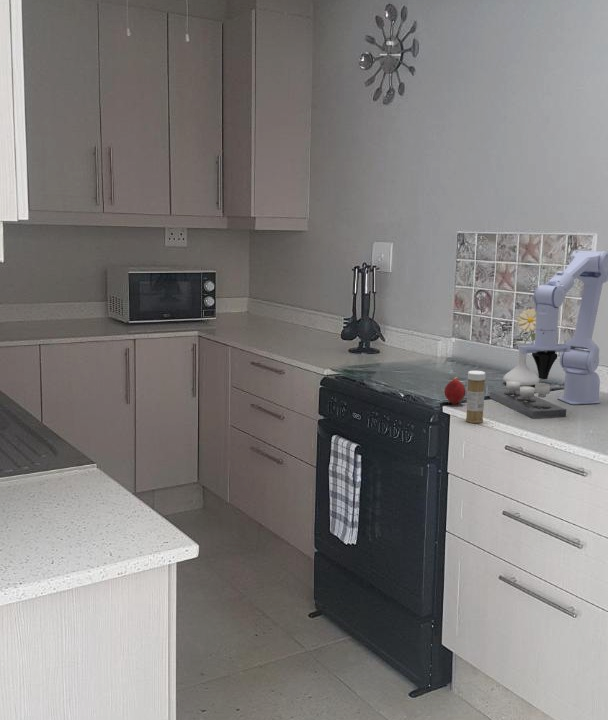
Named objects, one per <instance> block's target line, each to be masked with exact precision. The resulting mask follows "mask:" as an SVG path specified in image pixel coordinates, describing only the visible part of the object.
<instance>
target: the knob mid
mask: <svg viewBox="0 0 608 720" xmlns="http://www.w3.org/2000/svg"><path fill="white" fill-rule="evenodd" d="M520 396H523V400H530V397H533V396H535V386H534V387H533V386H520Z"/></svg>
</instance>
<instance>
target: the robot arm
mask: <svg viewBox="0 0 608 720" xmlns="http://www.w3.org/2000/svg"><path fill="white" fill-rule="evenodd" d="M575 279H577V280H579V281H581V282H582V283H583V285H584V286H583V289H582V294H581V299H580V304H579V308H578V309H579V310H578V315H577V319H576V324H575V329H574V334H573V337H572V338H570V339H568V340H567V341H565V342H564V343H557V342H558V340H557V339H558V338H557V337H558V326H559V325H558V323H559V310H560V307H561V306H562V305H563V303H564V299H565V298H566V294H567V293H568V292H569V291H570V290H571V289H572V288H573V287H574V284H575ZM606 282H608V251H607V250H604V251H599V250H598V251H597V250H596V251H595V250H581V249H580V250H579V249H575V250H574V251H573V253H572V254H571V256H570V262H569V264H568V265H567V266H566V268H565V269H564V270H557V271H556V273H555V274H554V275H553V276H552V277H551V278H550V279H548V281H547V282H545V284H540V285H539V286H536V288H535V289H534V293H533V295H532V300H533V301H532V302H533V303H534V309H535V312H536V328H535V330H534V331H535V332H534V333H535V340H534V343H533V344H532V343H531V345H525V346H520V350H519V349H518V354H519V353H522V354H526V353H527V354H531V356H532V358H533V360H534V362H535V365H536V368H537V374H538V378H539V380H548V377H549V374H550V371H551V368H552V367H553V365H554V363H555V362H556V360H557V359H558V355H559V364H560V367H561V368H563V369H562V371H564V372H565V373H564V386H563V387H564V388H563V396H557V399H558V400H560V401H561V402H565V403H567V404H570V405H573V406H574V405H589V404H600V403H601V401H600V400H599V399H600V387H601V378H600V375H599V374H598V373H597V372H596V370H597V369H598V367H599V363H600V347H599V346H598V345H597V344H596V343H595V342H594V341H593V333H594V329H595V325H596V324H595V323H596V321H597V315H598V310H599V305H600V299H601V294H602V290H603V289H602V288H603V285H604V283H606ZM558 353H560V354H558Z"/></svg>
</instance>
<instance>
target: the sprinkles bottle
mask: <svg viewBox="0 0 608 720" xmlns="http://www.w3.org/2000/svg"><path fill="white" fill-rule="evenodd" d="M485 382H486V372H485V371H483V370H482V371H481V370H469V371H468V372H467V390H466V392H467V393H466V394H467V395H466V415H465V416H466V418H465V422H468V423H470V424H471V423H472V424H481V423H483V422H484V419H483V418H484V417H483V416H484V406H485Z"/></svg>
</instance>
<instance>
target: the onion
mask: <svg viewBox="0 0 608 720" xmlns="http://www.w3.org/2000/svg"><path fill="white" fill-rule="evenodd" d="M465 396H466V388H465V385H464V384H463V383H462V382H461V381H460V380H459V377H458V376H456V377H454V378H452V380H451V381H449V382H448V383H447V385H446V386H445V388H444V397H445V398H446V399H447V401H449V402H450V403H451V404H452V405H457V404H458V403H460V402H461V401H462V400H463V399H464V398H465Z"/></svg>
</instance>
